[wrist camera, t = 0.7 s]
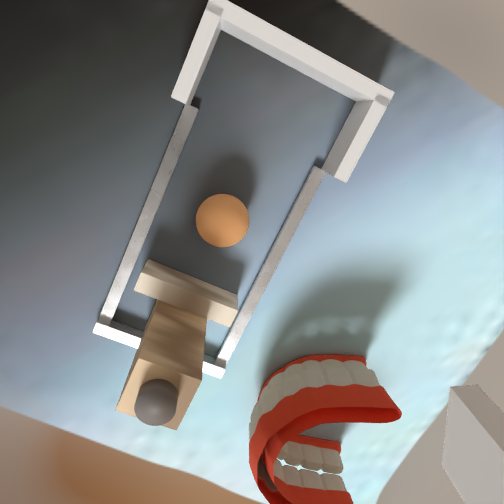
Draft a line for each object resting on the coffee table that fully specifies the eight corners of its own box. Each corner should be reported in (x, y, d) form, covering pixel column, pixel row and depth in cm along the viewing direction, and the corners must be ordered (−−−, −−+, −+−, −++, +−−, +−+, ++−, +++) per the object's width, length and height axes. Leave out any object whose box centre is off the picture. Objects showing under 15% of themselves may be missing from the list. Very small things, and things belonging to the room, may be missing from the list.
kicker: (124, 315, 36) (76, 413, 24) (148, 258, 34) (109, 334, 23) (210, 347, 37) (205, 454, 26) (237, 294, 36) (243, 382, 24)
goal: (177, 98, 30) (170, 96, 27) (213, 7, 29) (212, -9, 25) (332, 174, 33) (346, 182, 29) (373, 94, 31) (394, 92, 27)
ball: (189, 226, 34) (185, 241, 30) (209, 181, 32) (207, 190, 29) (235, 246, 34) (236, 262, 30) (256, 202, 33) (260, 214, 29)
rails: (96, 325, 36) (92, 332, 35) (186, 103, 31) (185, 102, 29) (221, 370, 38) (220, 378, 37) (324, 170, 33) (328, 172, 32)
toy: (257, 335, 37) (266, 393, 30) (368, 349, 38) (404, 407, 31) (235, 448, 41) (237, 524, 33) (337, 457, 42) (361, 532, 35)
